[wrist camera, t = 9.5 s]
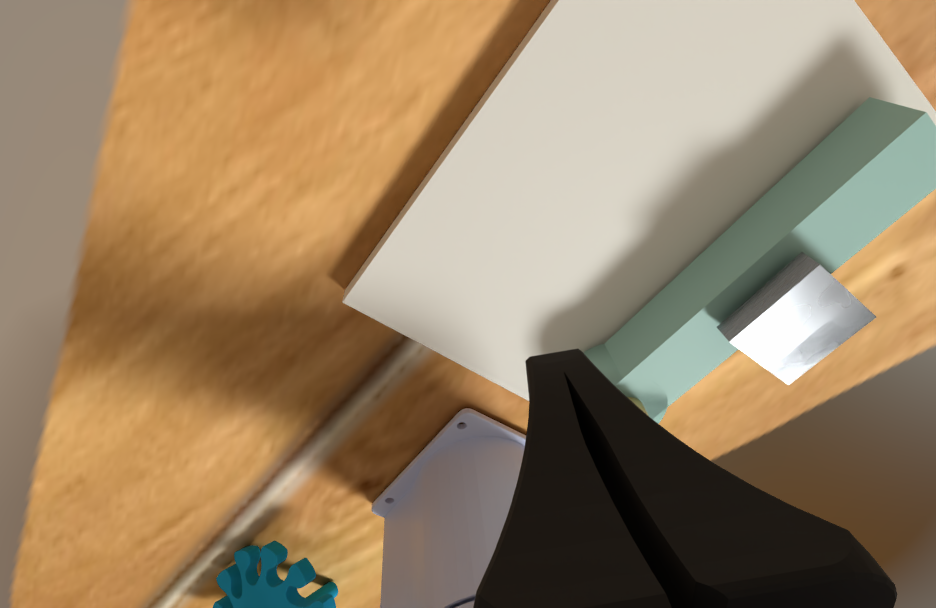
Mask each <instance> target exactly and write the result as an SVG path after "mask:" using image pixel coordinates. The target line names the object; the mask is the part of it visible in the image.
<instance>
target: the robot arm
mask: <svg viewBox="0 0 936 608" xmlns="http://www.w3.org/2000/svg"><path fill="white" fill-rule="evenodd" d="M525 363H526V373H527V383H528V392H529V402H530V403H529V419H528V427H527V434H526V435H524V434H522V433H520V432H518V431H516V430H514V429H512V428H510V427H507V426H505V425H503V424H501V423H499V422H497V421H495V420H493V419H491V418H489V417H487V416H485V415H483V414H481V413H479V412H477V411H475V410H473V409H470V408H465V409H462V410H461V411H459V412H458V413H457V414H456V415H455V416H454V418H453V419H452V420H451V421H450V422H449V423H448V424H447V425H446V426H445V427H444V428H443V429H442V430H441V431H440V432H439V433H438V434H437V436H436V437H435V438H434V439H433V440H432V441H431V442H430V443H429V444H428V445H427V446H426V447H425V448H424V449H423V450H422V451H421V452H420V453H419V455H418V456H417V457H416V458H415V459H414V460H413V461H412V462H411V463H410V464H409V465H408V466H407V467H406V468H405V469H404V470H403V471H402V473H401V474H400V475H399V476H398V477H397V478H396V479H395V480H394V481H393V482H392V483H391V484H390V485H389V486H388V487H387V488H386V489H385V491H384V492H383V493H382V494H381V495H380V496H379V497H378V498H377V499H376V500H375V501H374V502H373V504H372V512H373V513H374V514H376V515H379V516H381V517H384V518H385V521H384V542H383V563H382V584H381V605H380V608H893V607H894V604H895V601H896V597H897V592H896V587H895V584H894V583H893V582H892V581H891V579H890V578H889V577H888V576H887V575H886V573H885V572H884V571H883V569H882V568H881V567H880V566H879V564H878V563H877V562H876V561H875V559H874V558H873V557H872V556H871V555H870V553H869V552H868V551H867V550H866V549H865V548H864V547H863V546H862V545H861V544H860V543H859V542H858V541H857V540H856V539H855V538H854V536H853V535H852V534H851V533H850V532H849V531H848V530H846V529H844V528H841V527H839V526H837V525H835V524H832V523H830V522H828V521H826V520H823V519H821V518H819V517H816V516H814V515H812V514H810V513H807V512H805V511H803V510H800V509H798V508H796V507H794V506H791V505H789V504H787V503H785V502H783V501H781V500H780V499H777V498H776V497H774V496H772V495H770V494H768V493H766V492H764V491H762V490H760V489H758V488H756V487H754V486H752V485H750V484H749V483H747V482H745V481H743V480H742V479H740V478H738V477H737V476H735V475H733V474H731V473H730V472H728V471H726V470H724V469H722V468H721V467H719V466H717V465H716V464H714V463H713V462H711V461H710V460H708V459H707V458H705V457H703V456H702V455H700V454H699V453H697V452H696V451H694V450H693V449H692V448H690V447H689V446H687V445H686V444H684V443H683V442H682V441H680V440H679V439H677V438H676V437H675V436H673V435H672V434H671V433H669V432H668V431H667V430H665V429H664V428H663V427H662V426H660V425H659V424H658V423H657V422H655V421H654V420H653V419H652V418H650V417H649V416H648V415H647V414H646V413H644V412H643V411H642V410H641V409H640V408H639V407H637V406H636V405H635V404H634V403H633V402H632V401H631V400H630V399H629V398H628V397H626V396H625V395H624V394H623V393H622V392H621V391H620V390H619V389H618V388H617V387H616V386H615V385H614V384H613V383H612V382H611V381H610V380H609V379H608V378H607V377H606V376H605V375H604V374H603V373H602V372H601V371H600V370H599V369H598V368H597V367H596V366H595V365H594V364H593V363H592V362H591V361H590V360H589V359H588V357H587V356H586V355H585V354H584V353H583V352H582V351H581V350H579V349H578V348H577V349H572V350H566V351H560V352H554V353H548V354H542V355H536V356H531V357H529V358H528V359H527V360H526V361H525ZM460 422H464V423H463V424H458V423H460Z"/></svg>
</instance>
